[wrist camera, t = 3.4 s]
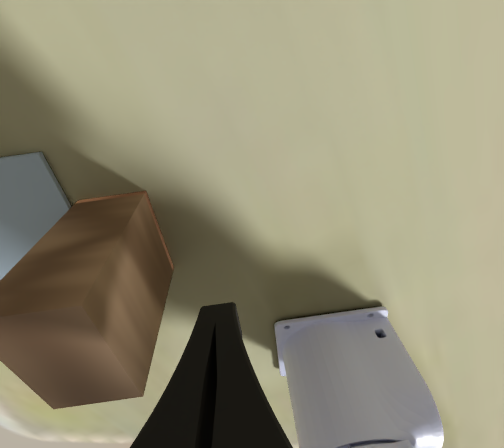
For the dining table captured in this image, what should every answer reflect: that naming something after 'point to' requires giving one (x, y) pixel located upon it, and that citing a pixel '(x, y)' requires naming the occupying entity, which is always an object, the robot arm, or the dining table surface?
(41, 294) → the brown wooden block
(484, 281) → the dining table surface
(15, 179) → the mat
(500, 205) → the dining table surface
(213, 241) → the dining table surface
